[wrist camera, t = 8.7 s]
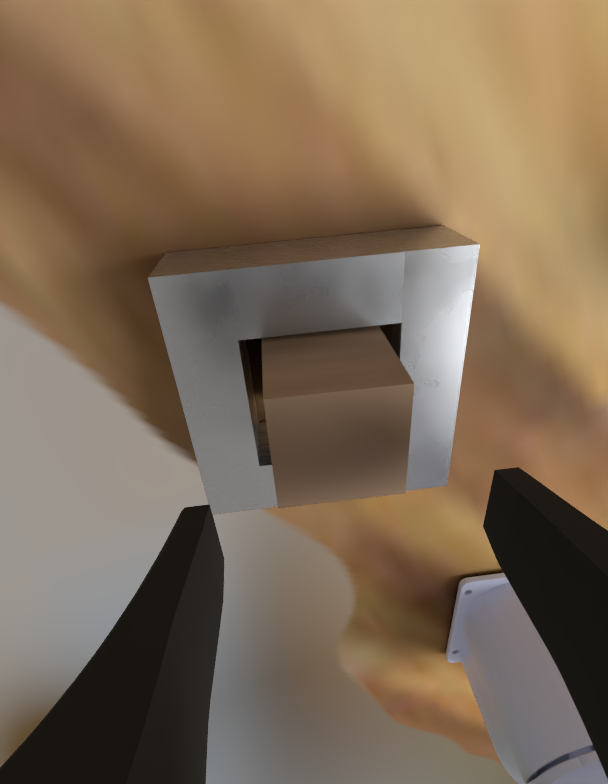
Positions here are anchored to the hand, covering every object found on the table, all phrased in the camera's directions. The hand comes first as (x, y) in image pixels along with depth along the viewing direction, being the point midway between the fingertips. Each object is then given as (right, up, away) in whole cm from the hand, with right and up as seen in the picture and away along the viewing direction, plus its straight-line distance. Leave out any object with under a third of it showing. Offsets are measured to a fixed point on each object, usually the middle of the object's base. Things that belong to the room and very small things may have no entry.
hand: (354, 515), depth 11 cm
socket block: (-1, +4, +7) cm, 8 cm away
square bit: (-1, +5, +7) cm, 8 cm away
